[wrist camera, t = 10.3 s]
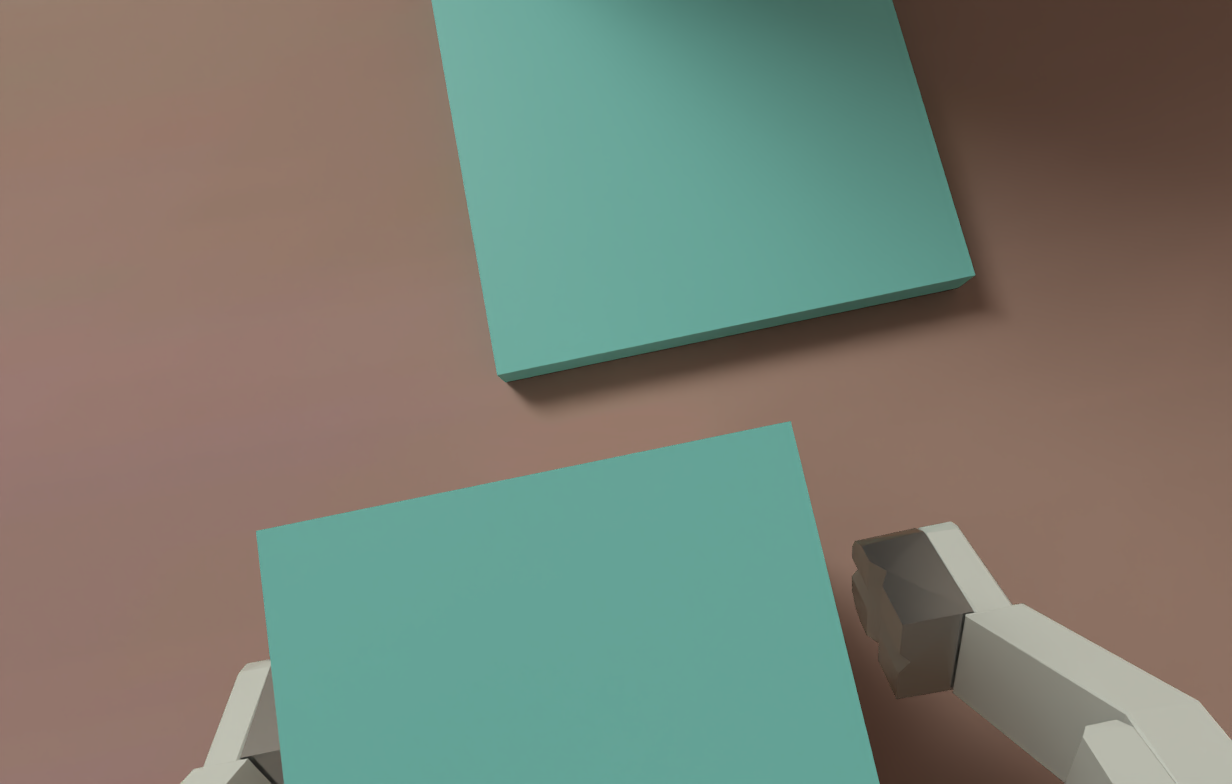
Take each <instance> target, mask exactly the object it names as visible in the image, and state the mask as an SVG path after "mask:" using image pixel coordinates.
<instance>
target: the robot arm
mask: <svg viewBox="0 0 1232 784" xmlns="http://www.w3.org/2000/svg"><path fill="white" fill-rule="evenodd" d="M852 558H853V560H854V562H855V565H856V567H857V569H858V570H857V571H856V572H855V573H854V574H853V576H852V593H853V598H854V602H855V607H856V610H857V613H858V616H859V619H860V622H861V624H862V626H863V628H864V631H865V633H866V635H867V636H869V637H870V638H872V639H873V640H875V641H876V642H878V643H879V651H878V661H879V663H880V665H881V668H882V670H883V672H884V674H885V676H886V678H887V680H888V682H889V685H890V687H891V689H892V691H893V693H894V695H895V697H896V699H900V698H906V697H912V696H918V695H924V694H930V693H936V692H942V691H948V690H953V693H954V694H955V695H956V696H958V697H959V698H960V699H961V700H962V701H964V702H965V703H966V704H967V705H969V706H970V707H971V708H972V709H974V710H975V711H976V712H977V713H979V714H980V715H981V716H982V717H984V718H985V719H986V720H987V721H989V722H990V723H991V724H992V725H994V726H995V727H996V728H997V729H998V730H1000V731H1001V732H1002V733H1003V734H1005V735H1006V736H1007V737H1008V738H1010V739H1011V740H1012V741H1013V742H1015V743H1016V744H1017V745H1018V746H1020V747H1021V748H1022V749H1023V750H1025V751H1026V752H1027V753H1028V754H1030V755H1031V756H1032V757H1033V758H1034V759H1036V760H1037V761H1038V762H1039V763H1041V764H1042V765H1043V766H1044V767H1046V768H1047V769H1048V770H1049V771H1051V772H1052V773H1053V774H1054V775H1056V776H1057V777H1058V778H1059V779H1061V780H1062V781H1063V782H1064V784H1232V740H1231V739H1230V738H1229V737H1228V736H1227V734H1226V733H1225V732H1224V731H1223V730H1222V728H1221V727H1220V726H1219V725H1218V724H1217V722H1216V721H1215V720H1214V719H1213V718H1212V716H1211V715H1210V714H1209V713H1208V712H1207V710H1206V709H1205V708H1204V707H1203V706H1202V704H1201V703H1200V702H1199V701H1197V700H1196V699H1194V698H1192V697H1190V696H1188V695H1187V694H1185V693H1183V692H1181V691H1179V690H1178V689H1176V688H1174V687H1172V686H1170V685H1169V684H1167V683H1165V682H1163V681H1161V680H1160V679H1158V678H1156V677H1154V676H1152V675H1151V674H1149V673H1147V672H1145V671H1143V670H1142V669H1140V668H1138V667H1136V666H1134V665H1133V664H1131V663H1129V662H1127V661H1125V660H1124V659H1122V658H1120V657H1118V656H1116V655H1115V654H1113V653H1111V652H1109V651H1107V650H1106V649H1104V648H1102V647H1100V646H1098V645H1097V644H1095V643H1093V642H1091V641H1089V640H1088V639H1086V638H1084V637H1082V636H1080V635H1079V634H1077V633H1075V632H1073V631H1071V630H1070V629H1068V628H1066V627H1064V626H1062V625H1061V624H1059V623H1057V622H1055V621H1053V620H1052V619H1050V618H1048V617H1046V616H1044V615H1043V614H1041V613H1039V612H1037V611H1035V610H1034V609H1032V608H1030V607H1028V606H1026V605H1025V604H1023V603H1022V604H1016V605H1012V603H1011V602H1010V601H1009V599H1008V598H1007V596H1006V595H1005V593H1004V592H1003V590H1002V589H1001V588H1000V586H999V585H998V583H997V582H996V580H995V579H994V578H993V576H992V575H991V573H990V572H989V570H988V569H987V567H986V566H985V565H984V563H983V562H982V560H981V559H980V557H979V556H978V555H977V553H976V552H975V550H974V549H973V547H972V546H971V544H970V543H969V542H968V540H967V539H966V537H965V536H964V534H963V533H962V532H961V530H960V529H959V527H958V526H957V525H956V524H954V523H953V522H946V523H941V524H936V525H931V526H926V527H921V528H918V529H916V528H913V529H908V530H904V531H899V532H894V533H890V534H885V535H881V536H876V537H871V538H867V539H862V540H858V541H855V542H854V544H853V546H852ZM180 784H284V779H283V770H282V761H281V752H280V743H279V734H278V725H277V716H276V707H275V698H274V689H273V680H272V671H271V662H270V659H268V660H263V661H258V662H253V663H247V664H246V665H245V666H244V668H243V669H242V670H241V671H240V672H239V674H238V676H237V679H236V681H235V684H234V687H233V689H232V692H231V694H230V697H229V700H228V702H227V705H226V708H225V710H224V713H223V716H222V718H221V721H220V724H219V726H218V729H217V732H216V734H215V737H214V740H213V742H212V745H211V748H210V750H209V753H208V756H207V758H206V761H205V764H204V766H203V767H200V768H196V769H193V770H192V772H191V773H190V774H189V775H188V776H187V777H186V778H185V779H184V780H183V781H182V782H181V783H180Z"/></svg>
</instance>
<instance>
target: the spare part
mask: <svg viewBox="0 0 1232 784" xmlns="http://www.w3.org/2000/svg"><path fill="white" fill-rule="evenodd" d="M256 535H257V544H258V553H259V562H260V571H261V580H262V589H263V598H264V607H265V616H266V625H267V634H268V643H269V653H270V662H271V671H272V680H273V689H274V698H275V707H276V716H277V725H278V734H279V743H280V752H281V761H282V770H283V779H284V784H880V783H879V779H878V775H877V771H876V767H875V763H874V759H873V755H872V750H871V746H870V742H869V738H868V734H867V730H866V726H865V722H864V718H863V714H862V710H861V706H860V702H859V698H858V693H857V689H856V685H855V681H854V677H853V673H852V669H851V665H850V661H849V657H848V653H847V649H846V645H845V641H844V636H843V632H842V628H841V624H840V620H839V616H838V612H837V608H836V604H835V600H834V596H833V592H832V588H831V584H830V579H829V575H828V571H827V567H826V563H825V559H824V555H823V551H822V547H821V543H820V539H819V535H818V531H817V527H816V522H815V518H814V514H813V510H812V506H811V502H810V498H809V494H808V490H807V486H806V482H805V478H804V474H803V470H802V465H801V461H800V457H799V453H798V449H797V445H796V441H795V437H794V433H793V429H792V425H791V421H789V422H784V423H779V424H775V425H770V426H765V427H760V428H755V429H750V430H745V431H740V432H736V433H731V434H726V435H721V436H716V437H711V438H706V439H702V440H697V441H692V442H687V443H682V444H677V445H672V446H668V447H663V448H658V449H653V450H648V451H643V452H638V453H633V454H629V455H624V456H619V457H614V458H609V459H604V460H599V461H595V462H590V463H585V464H580V465H575V466H570V467H565V468H560V469H556V470H551V471H546V472H541V473H536V474H531V475H526V476H522V477H517V478H512V479H507V480H502V481H497V482H492V483H488V484H483V485H478V486H473V487H468V488H463V489H458V490H453V491H449V492H444V493H439V494H434V495H429V496H424V497H419V498H415V499H410V500H405V501H400V502H395V503H390V504H385V505H380V506H376V507H371V508H366V509H361V510H356V511H351V512H346V513H342V514H337V515H332V516H327V517H322V518H317V519H312V520H307V521H303V522H298V523H293V524H288V525H283V526H278V527H273V528H269V529H264V530H259V531H256Z"/></svg>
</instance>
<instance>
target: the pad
mask: <svg viewBox="0 0 1232 784" xmlns="http://www.w3.org/2000/svg"><path fill="white" fill-rule="evenodd" d="M432 6H433V12H434V17H435V23H436V29H437V34H438V40H439V46H440V52H441V57H442V63H443V69H444V74H445V80H446V86H447V91H448V97H449V103H450V109H451V114H452V120H453V126H454V131H455V137H456V143H457V148H458V154H459V160H460V166H461V171H462V177H463V183H464V188H465V194H466V200H467V205H468V211H469V217H470V222H471V228H472V234H473V240H474V245H475V251H476V257H477V262H478V268H479V274H480V279H481V285H482V291H483V297H484V302H485V308H486V314H487V319H488V325H489V331H490V336H491V342H492V348H493V353H494V359H495V365H496V371H497V375H498V376H499V377H500V378H501V379H502V380H503V381H505V382H510V381H514V380H519V379H524V378H529V377H533V376H538V375H543V374H548V373H553V372H557V371H562V370H567V369H572V368H577V367H581V366H586V365H591V364H596V363H601V362H605V361H610V360H615V359H620V358H624V357H629V356H634V355H639V354H644V353H648V352H653V351H658V350H663V349H668V348H672V347H677V346H682V345H687V344H692V343H696V342H701V341H706V340H711V339H715V338H720V337H725V336H730V335H735V334H739V333H744V332H749V331H754V330H759V329H763V328H768V327H773V326H778V325H783V324H787V323H792V322H797V321H802V320H807V319H811V318H816V317H821V316H826V315H830V314H835V313H840V312H845V311H850V310H854V309H859V308H864V307H869V306H874V305H878V304H883V303H888V302H893V301H898V300H902V299H907V298H912V297H917V296H921V295H926V294H931V293H936V292H941V291H945V290H950V289H955V288H959V287H960V286H961V285H963V284H964V283H966V282H967V281H968V280H970V279H971V278H972V277H974V276H975V272H974V269H973V266H972V262H971V259H970V256H969V252H968V249H967V246H966V242H965V239H964V236H963V233H962V229H961V226H960V223H959V219H958V216H957V213H956V209H955V206H954V203H953V200H952V196H951V193H950V190H949V186H948V183H947V180H946V176H945V173H944V170H943V167H942V163H941V160H940V157H939V153H938V150H937V147H936V143H935V140H934V137H933V134H932V130H931V127H930V124H929V120H928V117H927V114H926V110H925V107H924V104H923V101H922V97H921V94H920V91H919V87H918V84H917V81H916V77H915V74H914V71H913V68H912V64H911V61H910V58H909V54H908V51H907V48H906V44H905V41H904V38H903V35H902V31H901V28H900V25H899V21H898V18H897V15H896V11H895V8H894V5H893V2H892V0H432Z"/></svg>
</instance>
